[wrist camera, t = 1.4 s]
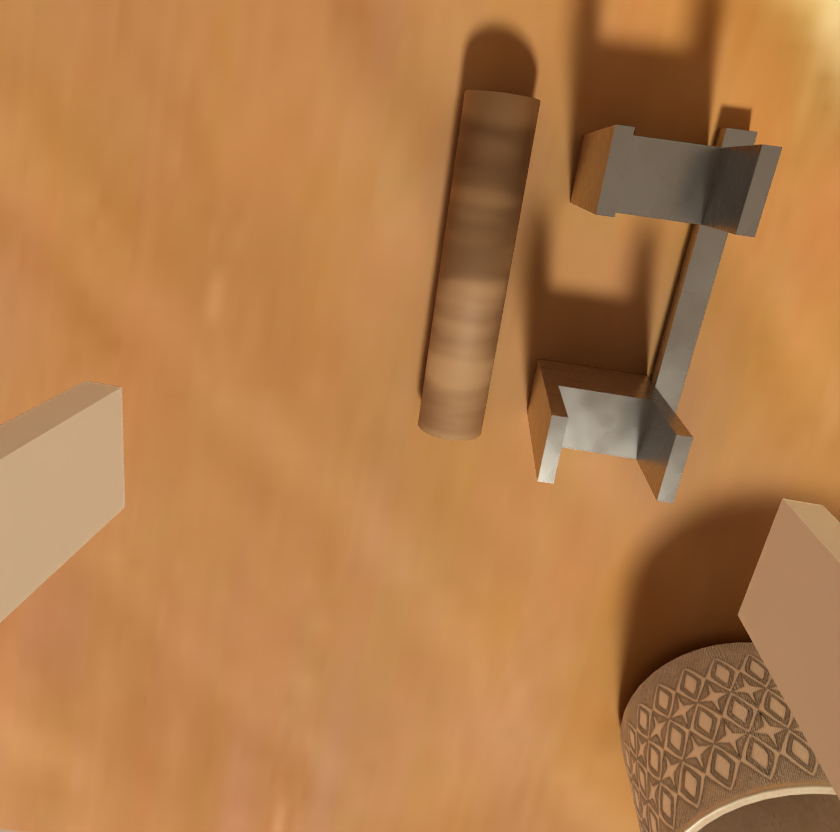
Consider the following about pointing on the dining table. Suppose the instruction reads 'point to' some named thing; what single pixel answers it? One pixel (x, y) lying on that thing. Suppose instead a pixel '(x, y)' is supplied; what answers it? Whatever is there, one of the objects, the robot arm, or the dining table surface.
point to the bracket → (712, 220)
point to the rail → (476, 259)
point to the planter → (721, 750)
